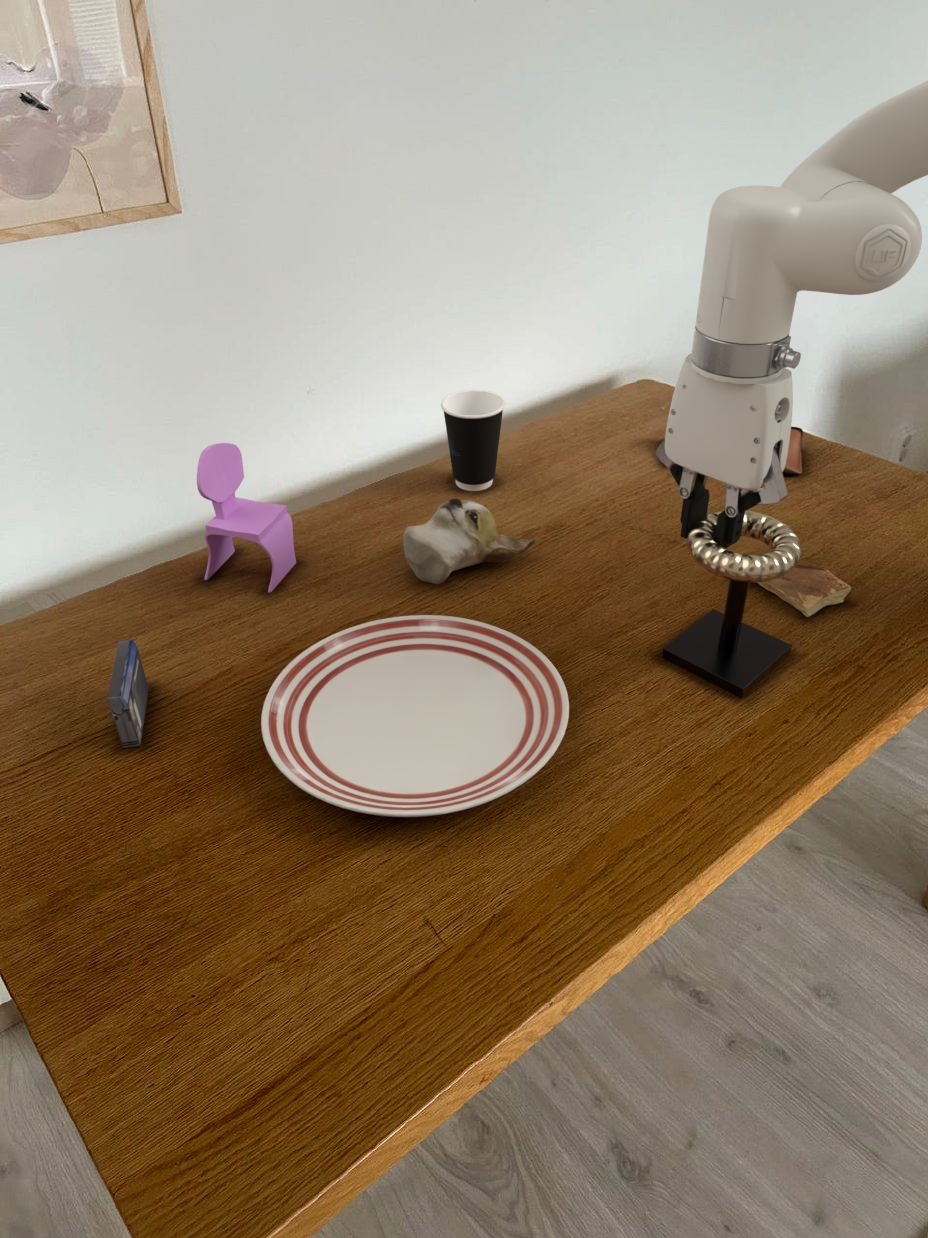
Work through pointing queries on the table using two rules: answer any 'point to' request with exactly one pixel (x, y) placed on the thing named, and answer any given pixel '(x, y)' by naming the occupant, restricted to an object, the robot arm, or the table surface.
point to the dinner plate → (415, 716)
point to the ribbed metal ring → (742, 565)
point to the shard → (808, 588)
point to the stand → (728, 647)
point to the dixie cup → (473, 436)
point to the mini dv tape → (128, 694)
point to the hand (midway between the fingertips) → (708, 537)
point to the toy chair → (241, 514)
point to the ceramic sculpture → (458, 541)
